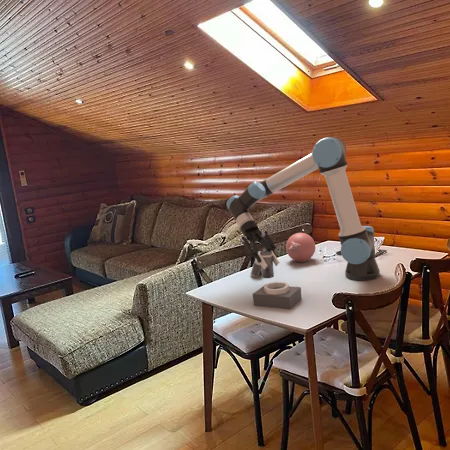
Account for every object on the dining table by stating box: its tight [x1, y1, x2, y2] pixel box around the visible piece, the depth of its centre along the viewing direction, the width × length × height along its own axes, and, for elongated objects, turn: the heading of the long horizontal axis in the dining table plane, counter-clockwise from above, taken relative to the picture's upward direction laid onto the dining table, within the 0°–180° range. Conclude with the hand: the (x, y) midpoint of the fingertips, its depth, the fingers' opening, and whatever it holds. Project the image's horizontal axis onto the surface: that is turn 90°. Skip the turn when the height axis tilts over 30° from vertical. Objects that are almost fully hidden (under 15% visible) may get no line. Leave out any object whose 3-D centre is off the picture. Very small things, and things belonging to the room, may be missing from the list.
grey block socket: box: [252, 281, 303, 310], centre depth 182 cm, size 16×12×7 cm
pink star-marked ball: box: [285, 232, 316, 263], centre depth 236 cm, size 15×20×15 cm
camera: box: [250, 251, 261, 278], centre depth 225 cm, size 9×16×10 cm, turn 173°
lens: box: [259, 250, 275, 279], centre depth 194 cm, size 6×6×11 cm
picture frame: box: [335, 248, 388, 258], centre depth 241 cm, size 16×2×21 cm
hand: (271, 265), depth 191 cm, fingers closed on lens, 5 cm apart
